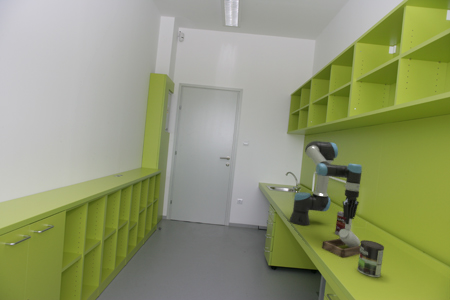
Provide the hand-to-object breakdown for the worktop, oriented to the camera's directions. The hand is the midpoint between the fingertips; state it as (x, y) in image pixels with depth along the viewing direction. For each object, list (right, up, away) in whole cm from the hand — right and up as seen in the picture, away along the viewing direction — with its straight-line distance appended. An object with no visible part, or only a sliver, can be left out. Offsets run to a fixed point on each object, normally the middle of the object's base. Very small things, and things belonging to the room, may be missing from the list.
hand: (347, 229), depth 160 cm
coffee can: (-2, -13, -27) cm, 30 cm away
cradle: (-3, -12, -1) cm, 13 cm away
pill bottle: (+6, -10, +5) cm, 12 cm away
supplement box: (+9, -13, +28) cm, 32 cm away
